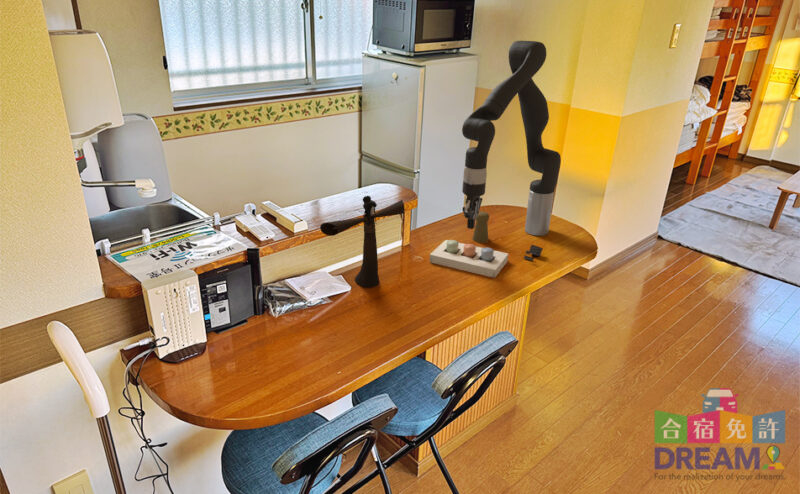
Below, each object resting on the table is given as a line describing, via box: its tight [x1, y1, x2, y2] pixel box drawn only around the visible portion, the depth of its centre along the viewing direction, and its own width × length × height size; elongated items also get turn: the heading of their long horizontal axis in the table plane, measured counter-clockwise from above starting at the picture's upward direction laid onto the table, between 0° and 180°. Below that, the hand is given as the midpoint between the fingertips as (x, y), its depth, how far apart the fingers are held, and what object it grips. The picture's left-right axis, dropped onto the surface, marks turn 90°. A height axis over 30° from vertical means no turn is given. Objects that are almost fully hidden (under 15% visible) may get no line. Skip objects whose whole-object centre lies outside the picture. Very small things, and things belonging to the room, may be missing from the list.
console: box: [429, 239, 509, 279], centre depth 193 cm, size 14×24×3 cm, turn 62°
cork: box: [472, 210, 490, 243], centre depth 208 cm, size 6×6×11 cm
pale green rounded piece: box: [445, 239, 459, 254], centre depth 194 cm, size 4×4×4 cm
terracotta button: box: [462, 243, 477, 258], centre depth 192 cm, size 4×4×4 cm
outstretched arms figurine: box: [319, 195, 406, 288], centre depth 173 cm, size 32×10×30 cm, turn 130°
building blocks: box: [523, 244, 544, 262], centre depth 196 cm, size 3×6×8 cm
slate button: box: [480, 247, 495, 262], centre depth 189 cm, size 4×4×4 cm
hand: (470, 227), depth 188 cm, fingers closed
